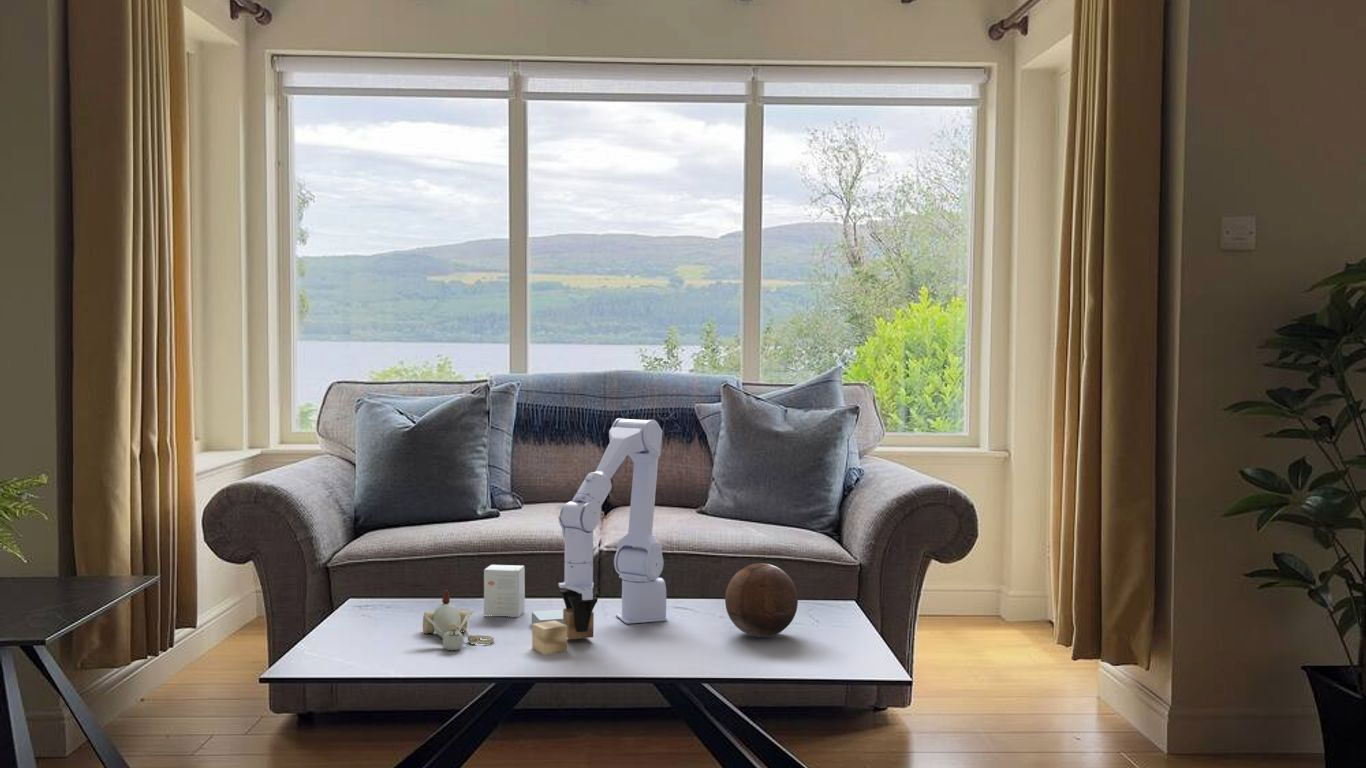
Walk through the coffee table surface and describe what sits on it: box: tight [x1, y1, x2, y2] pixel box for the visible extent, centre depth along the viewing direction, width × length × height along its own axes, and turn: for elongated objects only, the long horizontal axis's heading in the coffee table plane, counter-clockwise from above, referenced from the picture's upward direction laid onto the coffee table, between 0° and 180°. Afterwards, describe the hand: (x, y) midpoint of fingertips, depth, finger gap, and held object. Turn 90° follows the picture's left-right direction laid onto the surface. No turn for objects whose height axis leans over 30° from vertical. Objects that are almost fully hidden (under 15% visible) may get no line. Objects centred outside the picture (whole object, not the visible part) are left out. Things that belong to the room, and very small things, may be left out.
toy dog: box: [422, 589, 495, 652], centre depth 214 cm, size 12×19×9 cm, turn 40°
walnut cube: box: [562, 607, 595, 640], centre depth 214 cm, size 5×5×5 cm
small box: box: [483, 564, 526, 618], centre depth 235 cm, size 8×6×10 cm
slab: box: [531, 608, 564, 625], centre depth 224 cm, size 8×8×3 cm
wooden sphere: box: [724, 562, 799, 638], centre depth 219 cm, size 15×15×15 cm
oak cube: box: [531, 620, 568, 656], centre depth 207 cm, size 5×5×5 cm
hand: (578, 627), depth 214 cm, fingers closed on walnut cube, 5 cm apart
